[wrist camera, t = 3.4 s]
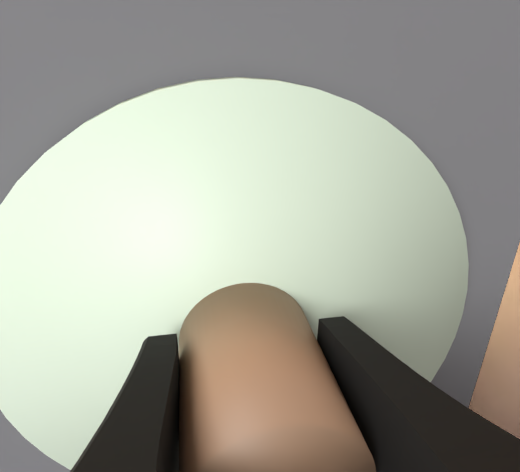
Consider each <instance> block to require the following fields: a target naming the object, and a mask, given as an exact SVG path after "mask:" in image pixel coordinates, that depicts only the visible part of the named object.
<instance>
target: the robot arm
mask: <svg viewBox="0 0 520 472" xmlns="http://www.w3.org/2000/svg"><path fill="white" fill-rule="evenodd" d="M317 341H318V343H319V346H320V348H321V350H322V352H323V354H324V356H325V358H326V360H327V362H328V364H329V367H330V369H331V371H332V373H333V375H334V377H335V379H336V381H337V383H338V385H339V387H340V390H341V392H342V394H343V396H344V398H345V400H346V402H347V404H348V406H349V408H350V411H351V413H352V415H353V417H354V419H355V421H356V423H357V425H358V427H359V429H360V431H361V434H362V436H363V438H364V440H365V442H366V444H367V446H368V448H369V450H370V452H371V455H372V457H373V459H374V462H375V466H376V472H520V439H518V438H516V437H515V436H513V435H511V434H510V433H508V432H506V431H505V430H503V429H501V428H500V427H498V426H496V425H495V424H493V423H491V422H489V421H488V420H486V419H485V418H483V417H481V416H480V415H478V414H477V413H475V412H473V411H472V410H470V409H469V408H467V407H466V406H464V405H463V404H461V403H460V402H458V401H457V400H455V399H454V398H452V397H451V396H449V395H448V394H447V393H445V392H444V391H442V390H441V389H439V388H438V387H436V386H435V385H433V384H432V383H431V382H429V381H428V380H426V379H425V378H424V377H422V376H421V375H420V374H418V373H417V372H415V371H414V370H413V369H411V368H410V367H409V366H407V365H406V364H405V363H403V362H402V361H401V360H399V359H398V358H397V357H396V356H394V355H393V354H392V353H390V352H389V351H388V350H387V349H385V348H384V347H383V346H381V345H380V344H379V343H378V342H376V341H375V340H374V339H373V338H371V337H370V336H369V335H368V334H366V333H365V332H364V331H362V330H361V329H360V328H359V327H357V326H356V325H355V324H354V323H352V322H351V321H350V320H348V319H347V318H346V317H344V316H341V317H331V318H321V319H319V322H318V333H317ZM70 472H179V352H178V341H177V334H167V335H157V336H148V337H147V338H146V339H145V340H144V341H143V344H142V346H141V349H140V351H139V353H138V356H137V358H136V360H135V362H134V364H133V367H132V369H131V371H130V373H129V375H128V376H127V378H126V380H125V382H124V384H123V386H122V388H121V390H120V391H119V393H118V395H117V397H116V399H115V400H114V402H113V404H112V406H111V407H110V409H109V411H108V413H107V415H106V416H105V418H104V420H103V421H102V423H101V425H100V426H99V428H98V429H97V431H96V432H95V434H94V436H93V437H92V439H91V440H90V442H89V443H88V445H87V446H86V448H85V450H84V451H83V453H82V454H81V456H80V457H79V459H78V461H77V462H76V463H75V465H74V466H73V468H72V469H71V471H70Z"/></svg>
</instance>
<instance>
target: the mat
mask: <svg viewBox="0 0 520 472" xmlns="http://www.w3.org/2000/svg"><path fill="white" fill-rule="evenodd" d="M224 77H249V78H265V79H275V80H280V81H285V82H290V83H294V84H299V85H304V86H308V87H312V88H315V89H319V90H322V91H325V92H327V93H330V94H333V95H335V96H338V97H341V98H343V99H346V100H349V101H352V102H354V103H356V104H358V105H360V106H362V107H364V108H365V109H367V110H369V111H371V112H373V113H374V114H376V115H378V116H380V117H381V118H383V119H385V120H387V121H388V122H389V123H390V124H392V125H393V126H394V127H395V128H397V129H398V130H399V131H400V132H402V133H403V134H404V135H406V136H407V137H408V138H409V139H411V140H412V141H413V142H414V143H415V145H416V146H417V147H418V148H419V149H420V150H421V151H422V152H423V153H424V154H425V155H426V157H427V158H428V159H429V160H430V161H431V162H432V163H433V165H434V166H435V168H436V169H437V171H438V172H439V174H440V175H441V177H442V178H443V180H444V182H445V183H446V185H447V186H448V188H449V190H450V192H451V195H452V197H453V199H454V201H455V204H456V206H457V208H458V211H459V213H460V217H461V221H462V224H463V228H464V232H465V236H466V242H467V252H468V262H469V269H468V289H467V295H466V300H465V305H464V311H463V315H462V318H461V321H460V324H459V327H458V330H457V333H456V336H455V339H454V341H453V343H452V345H451V347H450V349H449V352H448V354H447V356H446V358H445V360H444V362H443V363H442V365H441V366H440V368H439V370H438V371H437V373H436V375H435V376H434V378H433V380H432V381H431V383H432V384H433V385H435V386H436V387H438V388H439V389H441V390H442V391H444V392H445V393H447V394H448V395H449V396H451V397H452V398H454V399H455V400H457V401H458V402H460V403H461V404H463V405H464V406H466V407H467V408H468V407H469V404H470V401H471V398H472V394H473V391H474V388H475V385H476V381H477V378H478V375H479V372H480V368H481V365H482V362H483V359H484V355H485V352H486V349H487V346H488V343H489V339H490V336H491V333H492V330H493V326H494V323H495V320H496V317H497V313H498V310H499V307H500V304H501V300H502V297H503V294H504V291H505V288H506V284H507V281H508V278H509V275H510V271H511V268H512V265H513V262H514V258H515V255H516V252H517V249H518V245H519V242H520V0H0V205H1V203H2V202H3V201H4V199H5V198H6V196H7V195H8V193H9V192H10V191H11V189H12V188H13V186H14V185H15V183H16V182H17V181H18V180H19V179H20V178H21V177H22V176H23V175H24V174H25V173H26V172H27V171H28V170H29V169H30V167H31V166H32V165H33V164H34V163H35V162H36V161H37V160H38V159H39V158H40V157H41V156H42V155H43V154H44V153H45V152H46V151H48V150H49V149H50V148H52V147H53V146H54V145H55V144H57V143H58V142H59V141H61V140H62V139H63V138H65V137H66V136H67V135H69V134H70V133H71V132H73V131H74V130H75V129H77V128H78V127H79V126H81V125H82V124H83V123H85V122H86V121H87V120H89V119H91V118H93V117H95V116H96V115H98V114H100V113H102V112H104V111H106V110H107V109H109V108H111V107H113V106H115V105H117V104H118V103H120V102H122V101H125V100H128V99H130V98H133V97H136V96H138V95H141V94H144V93H146V92H149V91H152V90H154V89H157V88H161V87H165V86H170V85H175V84H179V83H184V82H188V81H193V80H198V79H211V78H224ZM70 471H71V470H69V469H67V468H66V467H64V466H63V465H61V464H59V463H58V462H56V461H54V460H53V459H51V458H50V457H48V456H46V455H45V454H44V453H43V452H41V451H40V450H39V449H38V448H36V447H35V446H34V445H33V444H31V443H30V442H29V441H28V440H27V439H25V438H24V437H23V436H22V435H21V434H20V432H19V431H18V430H17V429H16V428H15V427H14V426H13V425H12V424H11V423H10V422H9V421H8V420H7V418H6V417H5V416H4V414H3V413H2V411H1V410H0V472H70Z"/></svg>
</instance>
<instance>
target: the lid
mask: <svg viewBox="0 0 520 472" xmlns="http://www.w3.org/2000/svg"><path fill="white" fill-rule="evenodd" d="M468 269H469V262H468V252H467V242H466V236H465V232H464V228H463V224H462V221H461V217H460V213H459V211H458V208H457V206H456V204H455V201H454V199H453V197H452V195H451V192H450V190H449V188H448V186H447V185H446V183H445V182H444V180H443V178H442V177H441V175H440V174H439V172H438V171H437V169H436V168H435V166H434V165H433V163H432V162H431V161H430V160H429V159H428V158H427V157H426V155H425V154H424V153H423V152H422V151H421V150H420V149H419V148H418V147H417V146H416V145H415V143H414V142H413V141H412V140H411V139H409V138H408V137H407V136H406V135H404V134H403V133H402V132H400V131H399V130H398V129H397V128H395V127H394V126H393V125H392V124H390V123H389V122H388V121H387V120H385V119H383V118H381V117H380V116H378V115H376V114H374V113H373V112H371V111H369V110H367V109H365V108H364V107H362V106H360V105H358V104H356V103H354V102H352V101H349V100H346V99H343V98H341V97H338V96H335V95H333V94H330V93H327V92H325V91H322V90H319V89H315V88H312V87H308V86H304V85H299V84H294V83H290V82H285V81H280V80H275V79H265V78H249V77H224V78H211V79H198V80H193V81H188V82H184V83H179V84H175V85H170V86H165V87H161V88H157V89H154V90H152V91H149V92H146V93H144V94H141V95H138V96H136V97H133V98H130V99H128V100H125V101H122V102H120V103H118V104H117V105H115V106H113V107H111V108H109V109H107V110H106V111H104V112H102V113H100V114H98V115H96V116H95V117H93V118H91V119H89V120H87V121H86V122H85V123H83V124H82V125H81V126H79V127H78V128H77V129H75V130H74V131H73V132H71V133H70V134H69V135H67V136H66V137H65V138H63V139H62V140H61V141H59V142H58V143H57V144H55V145H54V146H53V147H52V148H50V149H49V150H48V151H46V152H45V153H44V154H43V155H42V156H41V157H40V158H39V159H38V160H37V161H36V162H35V163H34V164H33V165H32V166H31V167H30V169H29V170H28V171H27V172H26V173H25V174H24V175H23V176H22V177H21V178H20V179H19V180H18V181H17V182H16V183H15V185H14V186H13V188H12V189H11V191H10V192H9V193H8V195H7V196H6V198H5V199H4V201H3V202H2V203H1V205H0V410H1V411H2V413H3V414H4V416H5V417H6V418H7V420H8V421H9V422H10V423H11V424H12V425H13V426H14V427H15V428H16V429H17V430H18V431H19V432H20V434H21V435H22V436H23V437H24V438H25V439H27V440H28V441H29V442H30V443H31V444H33V445H34V446H35V447H36V448H38V449H39V450H40V451H41V452H43V453H44V454H45V455H46V456H48V457H50V458H51V459H53V460H54V461H56V462H58V463H59V464H61V465H63V466H64V467H66V468H67V469H69V470H71V469H72V468H73V466H74V465H75V463H76V462H77V461H78V459H79V457H80V456H81V454H82V453H83V451H84V450H85V448H86V446H87V445H88V443H89V442H90V440H91V439H92V437H93V436H94V434H95V432H96V431H97V429H98V428H99V426H100V425H101V423H102V421H103V420H104V418H105V416H106V415H107V413H108V411H109V409H110V407H111V406H112V404H113V402H114V400H115V399H116V397H117V395H118V393H119V391H120V390H121V388H122V386H123V384H124V382H125V380H126V378H127V376H128V375H129V373H130V371H131V369H132V367H133V364H134V362H135V360H136V358H137V356H138V353H139V351H140V349H141V346H142V344H143V341H144V340H145V339H146V338H147V337H148V336H157V335H167V334H177V341H178V352H179V472H376V466H375V462H374V459H373V457H372V455H371V452H370V450H369V448H368V446H367V444H366V442H365V440H364V438H363V436H362V434H361V431H360V429H359V427H358V425H357V423H356V421H355V419H354V417H353V415H352V413H351V411H350V408H349V406H348V404H347V402H346V400H345V398H344V396H343V394H342V392H341V390H340V387H339V385H338V383H337V381H336V379H335V377H334V375H333V373H332V371H331V369H330V367H329V364H328V362H327V360H326V358H325V356H324V354H323V352H322V350H321V348H320V346H319V343H318V341H317V333H318V322H319V319H321V318H331V317H341V316H344V317H346V318H347V319H348V320H350V321H351V322H352V323H354V324H355V325H356V326H357V327H359V328H360V329H361V330H362V331H364V332H365V333H366V334H368V335H369V336H370V337H371V338H373V339H374V340H375V341H376V342H378V343H379V344H380V345H381V346H383V347H384V348H385V349H387V350H388V351H389V352H390V353H392V354H393V355H394V356H396V357H397V358H398V359H399V360H401V361H402V362H403V363H405V364H406V365H407V366H409V367H410V368H411V369H413V370H414V371H415V372H417V373H418V374H420V375H421V376H422V377H424V378H425V379H426V380H428V381H429V382H431V381H432V380H433V378H434V376H435V375H436V373H437V371H438V370H439V368H440V366H441V365H442V363H443V362H444V360H445V358H446V356H447V354H448V352H449V349H450V347H451V345H452V343H453V341H454V339H455V336H456V333H457V330H458V327H459V324H460V321H461V318H462V315H463V311H464V305H465V300H466V295H467V289H468Z"/></svg>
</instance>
